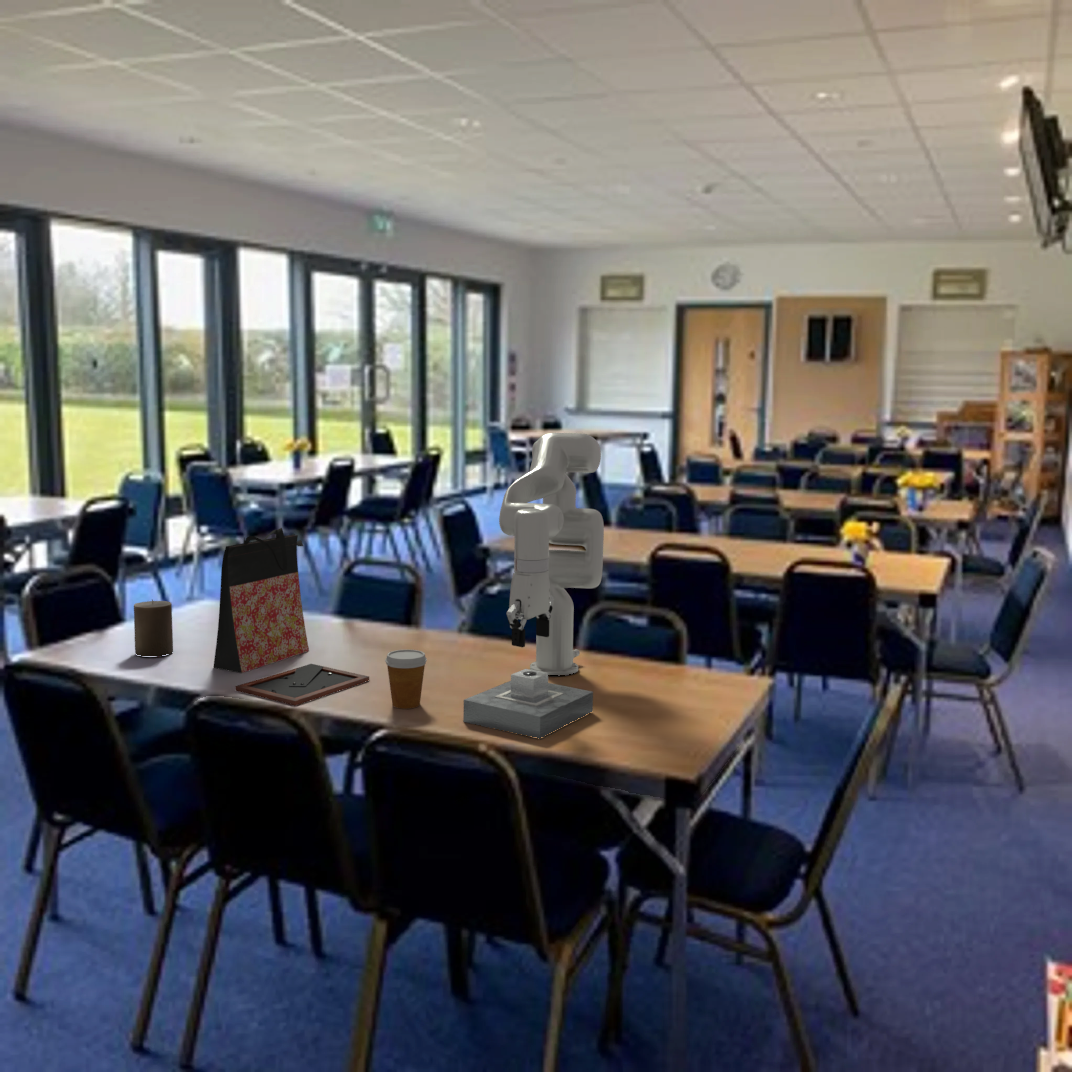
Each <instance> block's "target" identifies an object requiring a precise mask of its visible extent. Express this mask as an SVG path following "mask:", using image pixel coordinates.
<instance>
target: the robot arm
mask: <svg viewBox="0 0 1072 1072" xmlns="http://www.w3.org/2000/svg"><path fill="white" fill-rule="evenodd" d="M531 448H532V449H531V452H532V461H531V465H530V468H529V472H527V473H524V474H523V475H522V476H520V477H519V478H518V479H516V480H515V481H514V482H513V483H512V484H510V485H509V487H508V488H507V489H506V491H505V493H504V496H503V499H502V503H501V506H500V510H499V518H498V524H499V528H500V530H501V532H502V533H503V534H504V535H506V536H511V537H514V544H513V545H514V557H513V558H514V560H513V561H514V563H513V566H514V567H513V568H514V570H513V571H514V573H513V574H512V577H511V581H510V582H511V583H510V591H509V592H510V593H509V603H508V604H509V605H508V607H509V608H508V610H507V611H506V617H507V621H508V624H509V628H510V629H511V646H513V647H518V648H525V647H526V629H525V628H524V627H525V626H526V623H527V620H531V619H533V618H536V619H535V623H536V624H535V626H536V628H535V634H536V638H535V639H536V641H535V644H536V646H535V650H536V651H535V661H533V662H531V663H530V665H529V669H530V670H535V671H541V672H546V673H548V675H558V676H557V677H561V676H560V675H565V676H570V675H569V674H571V675H574V674H576V673H578V671H579V665H578V664H577V663H576V662H574V660H575V658H577V657H579V656H580V650H579V649H576V648H575V649H574V614H575V613H574V612H575V611H574V610H575V609H574V602H573V599H572V597H571V596H570V594H569V593H568V592H567V590H566V589H568V588H571V589H574V588H575V589H596V588H598V587H599V585H600V584H601V581H602V578H603V568H604V565H603V564H604V563H603V562H604V542H605V541H604V535H605V534H604V532H605V531H604V530H605V529H604V528H605V527H604V524H605V523H604V519H603V516H602V513H601V512H600V511H599V510H597V509H594V508H584V507H583V508H582V507H581V508H580V507H579V508H577V506H576V503H577V502H576V501H577V487H576V486H575V484H574V482H573V481H572V480H571V478H570V477H569V476H568V474H566V473H584V474H588V473H590V474H591V473H595V472H596V471H597V470H598V469H599V466H600V464H601V461H602V451H601V447H600V443H599V442H598V441H597V440H596V439H595V437H593V436H592V435H590V434H587V433H577V432H576V433H573V432H550V433H546V434H543V435H542V436H540V437H539V438H538V439H537V440H536V441H535V442H534V443H533V445H532V447H531ZM541 499H542V503H536V502H533V501H537V500H541ZM550 544H553V545H563V546H565V545H566V546H582V547H584V549H585V550H570V549H549V548H550ZM519 620H520V621H519ZM573 673H574V674H573Z"/></svg>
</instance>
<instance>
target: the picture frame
mask: <svg viewBox="0 0 1072 1072" xmlns="http://www.w3.org/2000/svg"><path fill="white" fill-rule="evenodd" d="M368 680H369V681H370V676H367V675H363V674H359V673H355V672H350V671H346V670H341V669H337V668H333V667H327V666H324V665H323V666H322V665H319V664H315V663H308V664H306V665H302V666H299V667H295V668H291V669H289V670H285V671H282V672H279V673H274V674H271V675H269V676H264V677H261V678H258V679H255V680H252V681H248V682H244V683H241V684H237V685H235V691H236V692H238V693H242V694H246V695H251V696H255V697H259V698H262V699H266V700H270V701H274V702H277V703H280V704H281V703H282V704H285V703H286V704H287V705H290V706H294V707H297V706H299V705H301V703H302V704H305V703H309V702H310V700H311V701H315V700H317V699H319V697H320V698H323V697H326V696H330V695H332V694H334V693H333V692H335V693H338V692H340V691H339V690H341V691H343V690H342V689H344V690H346V688H347V689H350V688H352V686H353V687H356V686H358V685H357V684H359V685H361V683H362V684H364V683H363V682H365V681H368ZM369 681H368V682H369ZM365 683H366V682H365ZM355 685H356V686H355ZM349 687H350V688H349ZM337 691H338V692H337ZM331 693H332V694H331ZM325 695H326V696H325ZM322 696H323V697H322ZM304 702H305V703H304Z"/></svg>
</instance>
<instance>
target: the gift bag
mask: <svg viewBox="0 0 1072 1072" xmlns="http://www.w3.org/2000/svg"><path fill="white" fill-rule="evenodd" d="M283 530H284V529H283V527H280V528H277V529H274V530H272V531H271V532H270V533H269V534H267V535H266V536H265V537H264V538H263V539H261V538H259V537H256V536H253V535H250V536H249V535H248V536H247V537H246V538H245V537H243V543H237V544H231V545H228V546H227V545H226V546H225V549H224V553H223V556H222V561H221V571H220V573H221V574H220V593H219V611H218V622H217V634H216V643H215V644H216V645H215V651H214V661H213V667H214V668H213V669H218V668H219V669H218V670H224V671H228V670H229V672H235V673H239V674H243V673H246V672H249V670H250V671H252V670H253V671H254V670H255V669H258V668H262V667H266V666H267V665H271V664H273V663H276V662H280V661H282V660H283V661H284V660H285V659H289V658H292V657H295V656H298V655H301V654H304V653H307V652H310V649H309V643H308V636H307V631H306V625H305V619H304V618H305V617H304V613H303V612H304V611H303V604H302V596H301V595H302V594H301V587H300V585H301V583H300V577H299V566H298V555H297V553H298V552H297V551H298V549H297V547H304V544H303V541H302V539H299V540H298V536H299V535H298V534H296V533H293V534H288V535H285V534H284V531H283ZM271 535H275V537H272V538H269V536H271ZM251 540H252V541H251ZM253 540H254V541H253Z"/></svg>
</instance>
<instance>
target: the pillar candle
mask: <svg viewBox="0 0 1072 1072" xmlns="http://www.w3.org/2000/svg"><path fill="white" fill-rule="evenodd" d="M172 607H173V606H172V602H171V601H166V600H153V599H151V600H150V601H149V600H147V601H142V602H136V603H134V604H133V622H134V623H133V624H134V653H136V654H137V655H141V656H162V655H166V654H170V655H172V654H173V653H174V639H173V636H174V632H173V609H172ZM172 652H173V653H172ZM171 653H172V654H171ZM136 654H135V655H136Z"/></svg>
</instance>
